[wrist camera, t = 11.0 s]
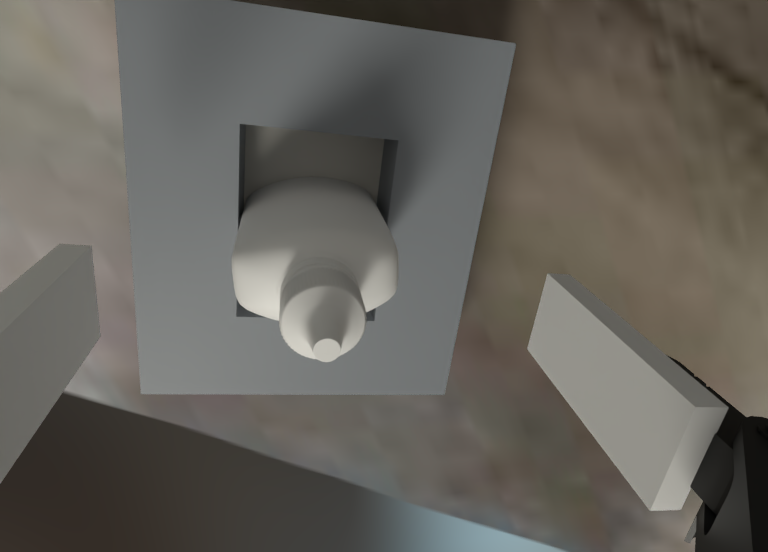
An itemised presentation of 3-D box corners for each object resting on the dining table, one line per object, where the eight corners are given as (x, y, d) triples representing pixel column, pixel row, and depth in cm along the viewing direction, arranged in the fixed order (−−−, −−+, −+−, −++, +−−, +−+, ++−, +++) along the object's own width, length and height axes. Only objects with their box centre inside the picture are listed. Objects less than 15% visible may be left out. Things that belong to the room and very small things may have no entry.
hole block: (145, -6, 20) (113, -18, 17) (480, 43, 23) (516, 43, 19) (161, 346, 26) (140, 394, 23) (425, 352, 29) (444, 394, 26)
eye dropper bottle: (342, 275, 25) (381, 445, 15) (233, 227, 23) (184, 381, 13) (385, 197, 24) (463, 320, 13) (273, 140, 22) (257, 229, 11)
